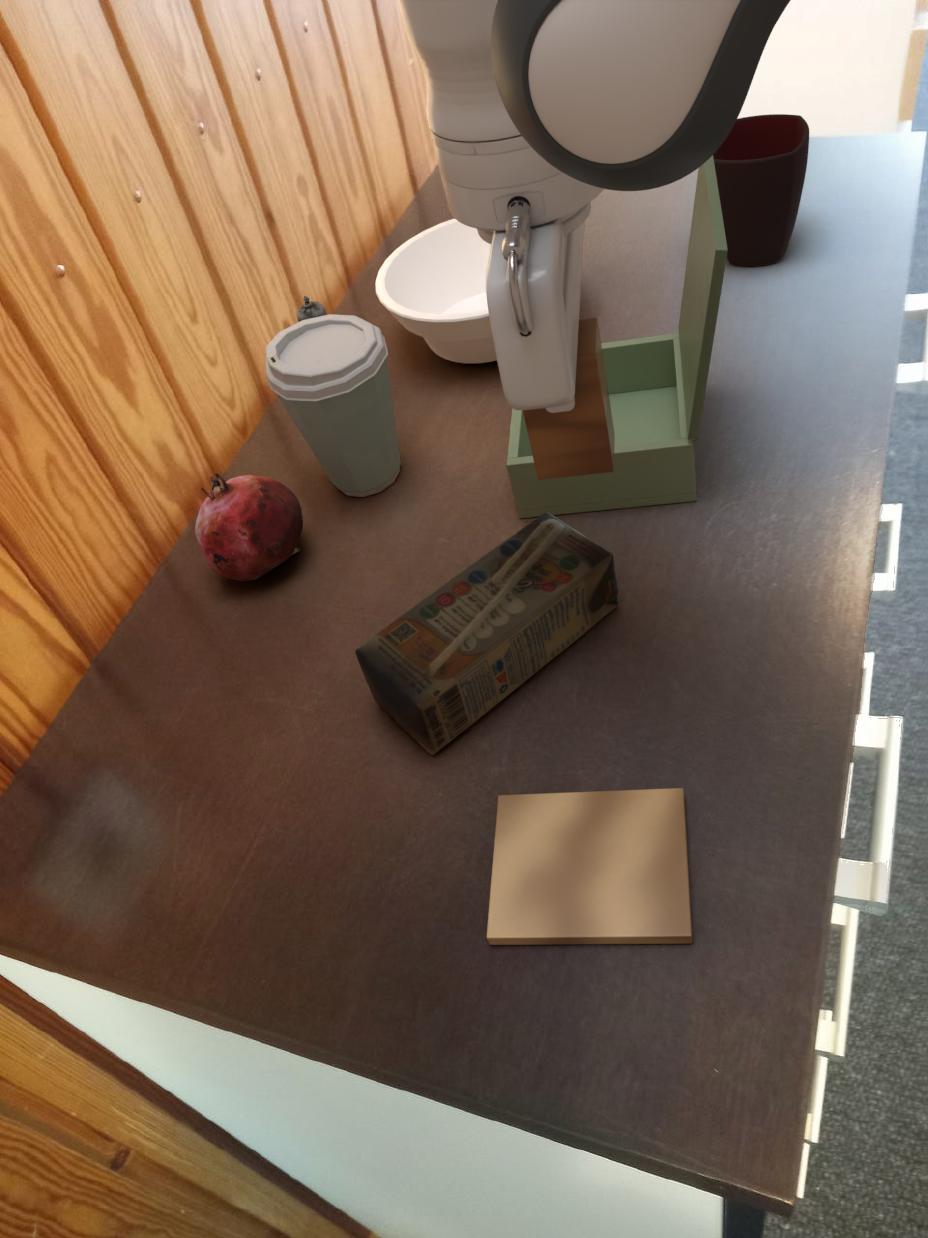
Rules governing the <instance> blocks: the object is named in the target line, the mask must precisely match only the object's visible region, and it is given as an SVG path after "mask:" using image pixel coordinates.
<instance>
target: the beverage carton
mask: <svg viewBox="0 0 928 1238" xmlns="http://www.w3.org/2000/svg"><path fill="white" fill-rule="evenodd" d="M614 557H615V556H614V554H613V553H612V552H611V551H610V550H609V549H607V548H605V547H604V546H602V545H601V544H598V543H597V542H595V540H592V539H590V538H589V537H587V536H586V535H584V534H582V533H581V532H580V531H578V530H576V528H573V527H572V526H570V525H568V524H567V523H566V522H564V521H563V520H561V519H560V518H558V517H556V515H552V514H550V513H547V512H545V513H543V514H542V515H541V516H540V517H536V518H535V519H534V520H532V521H531V522H530V523H528V524H527V525H525V526H523V527H522V528H521V529H519V531H517V532H516V533H514V534H512V535H511V536H510V537H508V538H506V539H505V540H503V541H502V542H501V543H499V544H498V545H497V546H496V547H494V548H493V549H492V550H490V551H489V552H487V553H486V554H484V555H482V556H481V557H480V558H479V559H477V560H476V561H474V562H473V563H472V564H470V565H469V566H468V567H466V568H465V569H463V570H461V571H460V572H459V573H458V574H456V575H455V576H453V577H452V578H450V580H448V581H446V582H445V583H443V584H442V585H441V586H440V587H438V588H437V589H436V590H435V591H433V592H432V593H430V594H429V595H428V596H426V597H425V598H423V599H422V600H420V601H418V602H417V603H416V604H415V605H414V606H413V607H411V608H410V609H408V610H407V611H406V612H404V613H403V614H402V615H400V616H398V618H396V619H395V620H394V621H392V622H391V623H388V625H387V626H385V627H384V628H382V629H381V630H380V631H379V632H377V633H376V634H375V635H373V636H371V637H370V638H369V639H368V640H367V641H366V642H364V643H363V644H362V645H360V646H359V647H357V648H356V649H355V651H354V654H355V656H356V659H357V662H358V664H359V668H360V669H361V672H362V674H363V676H364V679H365V681H366V684H367V686H368V688H369V691H370V693H371V695H372V697H373V699H374V701H375V702H376V703H377V704H378V705H379V707H381V708H382V709H383V710H384V711H385V712H386V713H387V714H388V715H389V716H390V717H391V718H392V719H393V720H394V721H395V722H396V723H397V724H399V726H400V727H401V728H402V729H403V730H404V731H405V732H406V733H407V734H409V736H410V737H411V738H412V739H414V741H416V742H417V743H418V744H419V745H420V747H422V748H423V749H424V750H425V751H426V752H427V753H428V754H429V755H432V756H435V754H437V753H438V752H439V751H440V750H441V749H443V748H444V747H445V746H447V745H448V744H449V743H450V742H452V741H453V740H454V739H456V738H457V737H458V736H459V735H461V734H462V733H464V731H466V730H467V729H468V728H469V727H471V726H472V725H474V723H476V722H477V721H478V720H480V719H481V718H482V717H483V716H485V715H486V714H487V713H488V712H489V711H491V710H492V709H493V708H494V707H496V706H497V705H498V704H499V703H500V702H502V701H503V700H504V699H505V698H507V697H509V695H510V694H512V693H513V692H514V691H515V690H517V689H518V688H519V687H520V686H521V685H523V684H524V683H525V682H526V681H528V680H529V679H530V678H531V677H533V676H534V675H535V674H537V673H538V672H539V671H540V670H541V669H542V668H543V667H545V666H546V665H547V664H548V663H550V662H551V661H552V660H553V659H554V658H556V657H557V656H559V655H560V654H561V653H562V652H564V651H565V650H567V649H568V648H569V647H570V646H571V645H572V644H573V643H575V642H576V641H577V640H578V639H580V638H581V637H582V636H584V635H585V634H586V633H587V632H588V631H589V630H591V628H593V627H594V626H595V625H596V624H597V623H599V621H601V620H602V619H604V617H606V616H607V615H608V614H610V613H611V612H612V611H614V609H616V608H617V607H618V606H619V604H620V603H619V592H620V591H619V587H618V579H617V575H616V567H615V559H614Z"/></svg>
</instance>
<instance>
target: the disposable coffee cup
mask: <svg viewBox="0 0 928 1238" xmlns="http://www.w3.org/2000/svg"><path fill="white" fill-rule="evenodd" d="M388 355H389V351H388V347H387V342H386V339H385V336H384V335H383V333H382V330H381V328H380V327H379V326H376V325H374V324H373V323H371V322H369V321H367V320H365V319H363V318H361V317H359V316H357V315H353V314H352V315H351V314H336V313H335V314H334V313H333V314H332V313H330V314H327V315H324V316H320V317H315V318H310V319H306V320H302V321H300V322H298V321H297V322H296V323H294V324H292V325H290V326H288V327H287V328H284V329H282V330H279V332H277V334H276V335H275V336H274V337H273V338H272V340H271V341H270V342H269V343H268V344H267V345H266V346H265V357H266V359H265V361H264V362H265V373H266V374H265V375H266V378H267V384H268V386H269V388H270V389H271V391H272V392H274V393H275V394H276V395H277V397H278V398H279V400H280V401H281V403H282V406H284V408H285V410H286V411H287V413H288V414H289V416H290V418H291V419H292V421H293V423H294V424H295V426H296V427H297V429H298V431H299V433H300V434H301V435H302V437H303V439H304V440H305V442H306V444H307V445H308V447H309V448H310V450H311V452H312V454H313V455H314V456H315V458H316V460H317V461H318V463H319V464H320V467H321V468H322V470H323V471H324V473H325V474H326V476H327V478H328V479H329V481H330V483H331V484H332V485H333V486H334V487H336V488H337V489H338V490H339V491H340V492H342V493H343V494H344V495H346V496H348V497H359V498H364V497H368V496H371V495H374V494H375V495H376V494H379V493H382V492H383V491H384V490H386V489H387V488H389V487H390V486H391V485H392V484H394V483H395V481H396V479H397V477H398V475H399V474H400V472H401V469H400V467H401V466H402V460H401V453H400V446H399V445H400V444H399V439H398V431H397V423H396V417H395V411H394V410H395V409H394V404H393V403H394V402H393V397H392V390H391V382H390V374H389V367H388V360H387V357H388Z"/></svg>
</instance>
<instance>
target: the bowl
mask: <svg viewBox="0 0 928 1238" xmlns="http://www.w3.org/2000/svg"><path fill="white" fill-rule="evenodd" d="M490 249H491V244H489V243H487V242H485V241H484V240H483V239H481V238H480V236H479V234H478V231H477V229H476V228H472V227H469V226H466V225H464V224H462V223H460V222H459V221H457V220H456V219H455V218H454V217H453V218H452V219H448V220H445V221H442V222H440V223H438V224H436V225H434V226H431V227H429V228H426V229H424V230H423V231H421V232H419V233H418V234H416V235H414V236H412V237H410V238H409V239H407V240H406V241H405V242H403V243H402V244H401V245H399V247H397V248H396V249H394V250H393V252H392V253H391V254H389V256H388V257H387V258H385V260H384V262H383V263H382V265H381V266H380V268H379V270H378V272H377V275H376V279H375V285H374V286H375V295H376V296H377V298H378V300H379V303H380V304H381V305H382V306H383V307H384V308H385V309H386V310H387V311H388V312H389V313H390V314H391V316H393V318H394V319H395V320H396V321H397V322H398V323H399V324H401V325H402V327H404V329H406V331H408V332H410V333H412V334H414V335H416V336H418V337H421V338H422V339H423V340H424V341H425V343H426V344H427V345H428V347H429V348H430V350H431V351H432V352H434V354H436V356H439V358H442V359H444V360H446V361H450V362H454V363H461V364H484V363H491V362H497V357H496V352H495V346H494V341H493V336H492V330H491V325H490V319H489V312H488V304H487V295H486V272H487V266H488V260H489V255H490Z"/></svg>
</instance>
